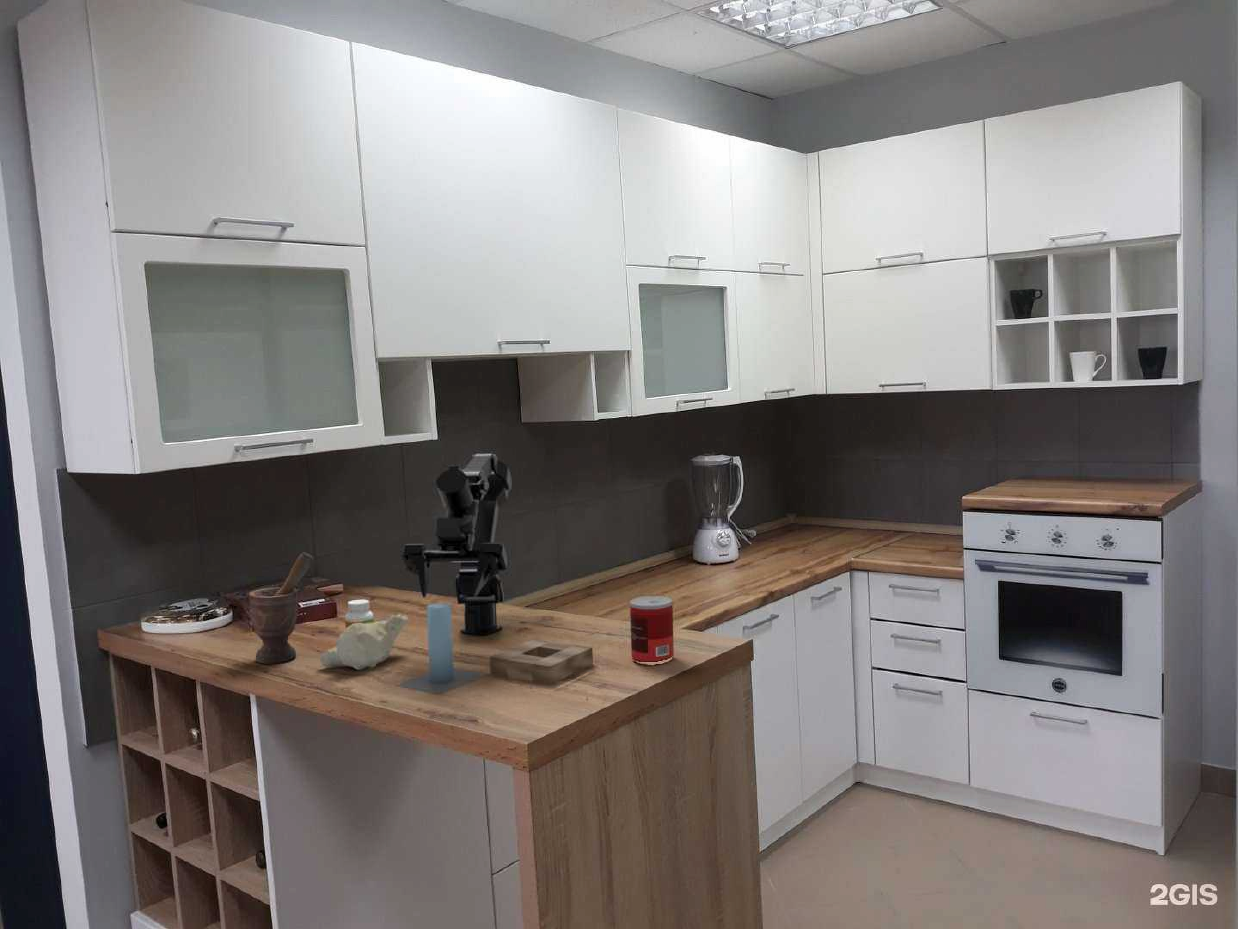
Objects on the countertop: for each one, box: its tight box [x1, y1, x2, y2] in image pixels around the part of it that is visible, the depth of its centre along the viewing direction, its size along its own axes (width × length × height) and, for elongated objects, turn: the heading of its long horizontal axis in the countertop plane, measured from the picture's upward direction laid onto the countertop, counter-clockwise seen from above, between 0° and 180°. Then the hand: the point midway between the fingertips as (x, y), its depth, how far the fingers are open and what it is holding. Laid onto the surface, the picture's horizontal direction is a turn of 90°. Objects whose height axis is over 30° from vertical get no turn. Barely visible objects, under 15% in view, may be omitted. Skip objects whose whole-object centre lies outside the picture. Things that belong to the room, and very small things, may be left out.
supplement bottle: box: [344, 599, 375, 629], centre depth 194 cm, size 5×5×10 cm
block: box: [489, 638, 594, 686], centre depth 177 cm, size 13×13×4 cm
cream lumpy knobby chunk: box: [320, 613, 410, 671], centre depth 184 cm, size 15×7×15 cm
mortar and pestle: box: [248, 552, 314, 665], centre depth 190 cm, size 12×9×20 cm
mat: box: [395, 668, 487, 695], centre depth 173 cm, size 12×10×1 cm
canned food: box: [629, 595, 675, 662], centre depth 182 cm, size 8×8×11 cm
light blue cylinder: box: [426, 602, 454, 683], centre depth 172 cm, size 4×4×13 cm
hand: (448, 596), depth 179 cm, fingers open, 9 cm apart
